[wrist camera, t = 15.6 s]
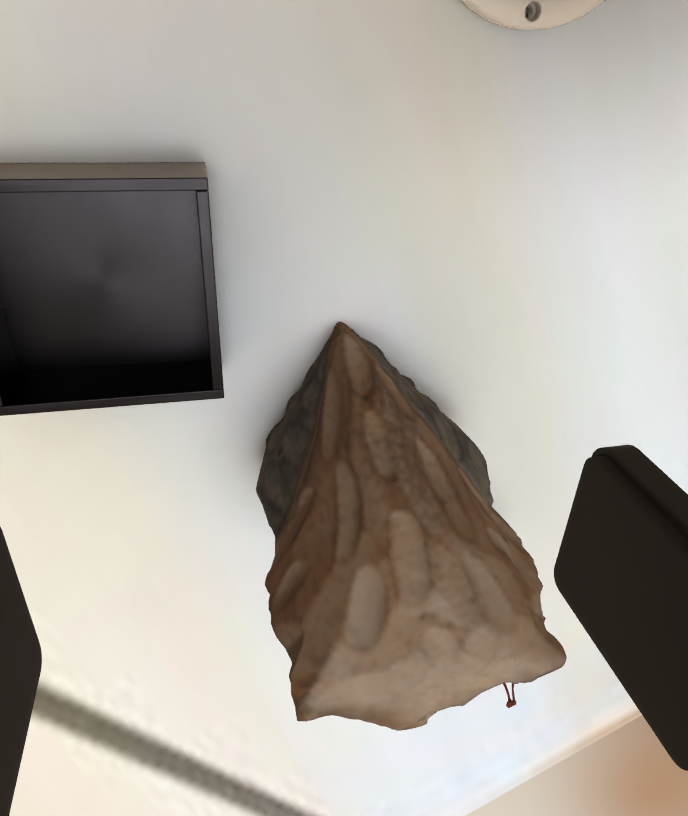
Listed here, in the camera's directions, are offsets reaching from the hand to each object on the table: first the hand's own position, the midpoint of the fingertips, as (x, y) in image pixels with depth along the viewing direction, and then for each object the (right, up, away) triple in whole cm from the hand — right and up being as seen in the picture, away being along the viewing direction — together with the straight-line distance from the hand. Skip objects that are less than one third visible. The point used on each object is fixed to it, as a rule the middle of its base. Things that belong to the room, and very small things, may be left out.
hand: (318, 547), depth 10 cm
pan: (-13, +10, +25) cm, 30 cm away
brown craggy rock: (+1, +2, +33) cm, 33 cm away
